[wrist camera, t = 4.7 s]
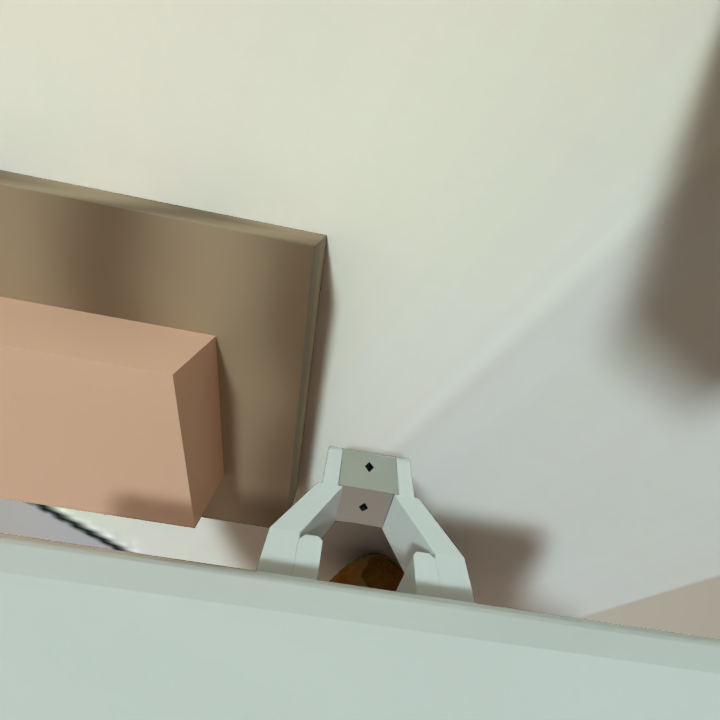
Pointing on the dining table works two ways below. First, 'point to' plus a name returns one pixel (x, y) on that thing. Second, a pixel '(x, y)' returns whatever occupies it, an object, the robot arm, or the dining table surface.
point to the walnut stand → (186, 309)
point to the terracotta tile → (107, 414)
